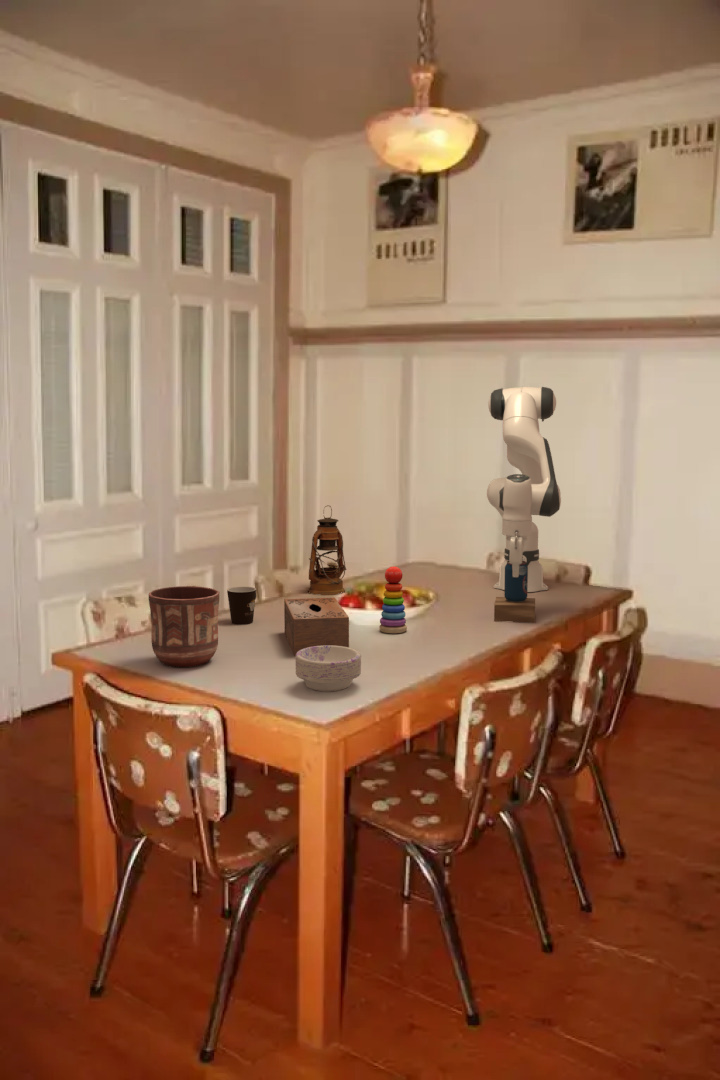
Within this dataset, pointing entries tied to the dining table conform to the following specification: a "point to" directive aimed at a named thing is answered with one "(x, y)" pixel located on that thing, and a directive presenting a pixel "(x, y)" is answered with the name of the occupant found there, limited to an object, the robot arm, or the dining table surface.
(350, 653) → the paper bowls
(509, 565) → the soda can
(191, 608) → the pottery
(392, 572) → the stacking toy
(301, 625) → the tissue box cover
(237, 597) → the coffee mug
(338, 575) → the lantern
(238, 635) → the dining table surface
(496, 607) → the block
